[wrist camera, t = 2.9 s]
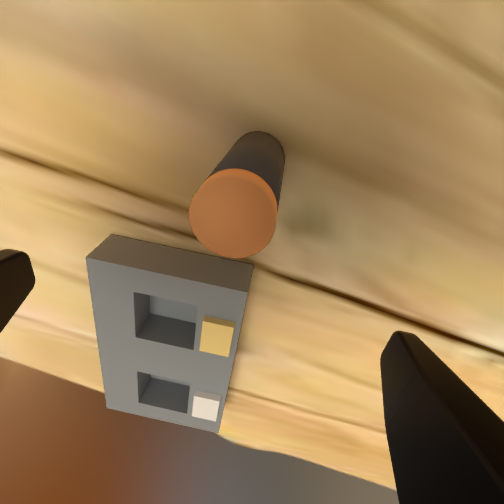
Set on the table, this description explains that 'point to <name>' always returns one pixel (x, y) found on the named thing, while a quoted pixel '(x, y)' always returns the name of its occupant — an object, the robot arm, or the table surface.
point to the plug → (240, 198)
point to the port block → (166, 328)
